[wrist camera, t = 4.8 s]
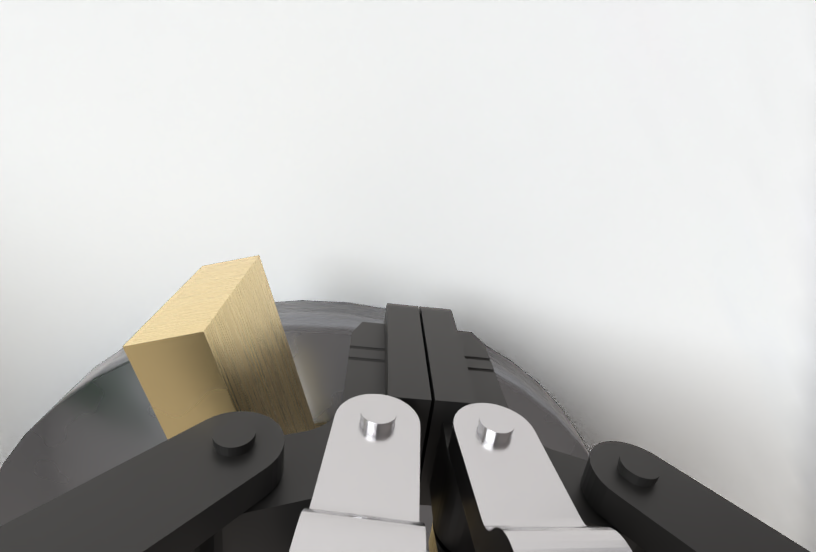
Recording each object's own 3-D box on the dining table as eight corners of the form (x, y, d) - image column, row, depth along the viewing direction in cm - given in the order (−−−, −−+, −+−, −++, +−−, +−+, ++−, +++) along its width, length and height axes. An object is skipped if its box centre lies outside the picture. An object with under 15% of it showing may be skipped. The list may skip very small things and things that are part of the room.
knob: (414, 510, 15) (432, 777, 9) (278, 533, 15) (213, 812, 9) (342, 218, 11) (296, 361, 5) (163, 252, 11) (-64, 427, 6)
